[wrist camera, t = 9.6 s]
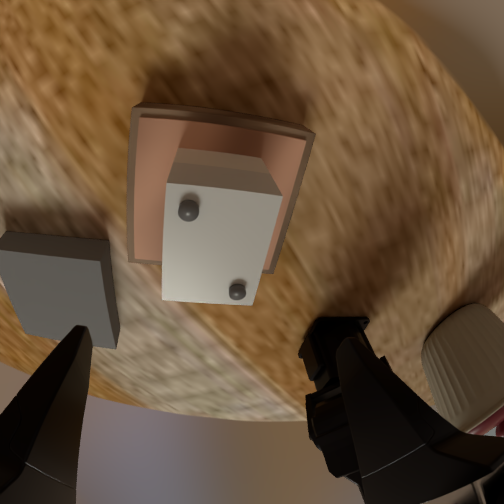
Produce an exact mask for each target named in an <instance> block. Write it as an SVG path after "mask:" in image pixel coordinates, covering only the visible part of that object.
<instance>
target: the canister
mask: <svg viewBox="0 0 504 504" xmlns="http://www.w3.org/2000/svg"><path fill="white" fill-rule="evenodd" d="M421 361H422V366H423V369H424V372H425V375H426V378H427V381H428V384H429V387H430V390H431V393H432V396H433V399H434V402H435V405H436V408H437V411H438V414H439V415H441V416H442V417H443V418H445V419H446V420H447V421H448V422H450V423H451V424H452V425H453V426H455V427H456V428H457V429H459V430H461V431H463V432H465V433H469V434H476V435H484V434H485V433H487V432H488V431H489V430H491V429H493V428H494V427H496V426H497V427H496V436H497V437H504V323H503V322H502V321H501V320H500V319H499V318H498V317H497V316H496V315H495V314H494V313H493V312H492V311H491V310H490V309H489V308H487V307H485V306H484V305H481V304H470V305H466V306H465V307H462V308H461V309H459V310H457V311H456V312H454V313H452V314H451V315H450V316H449V317H447V318H446V319H445V320H444V321H443V322H442V323H441V324H439V326H438V327H437V328H435V330H434V331H433V332H432V333H431V335H430V336H429V337H428V339H427V340H426V341H425V344H424V346H423V349H422V353H421Z"/></svg>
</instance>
